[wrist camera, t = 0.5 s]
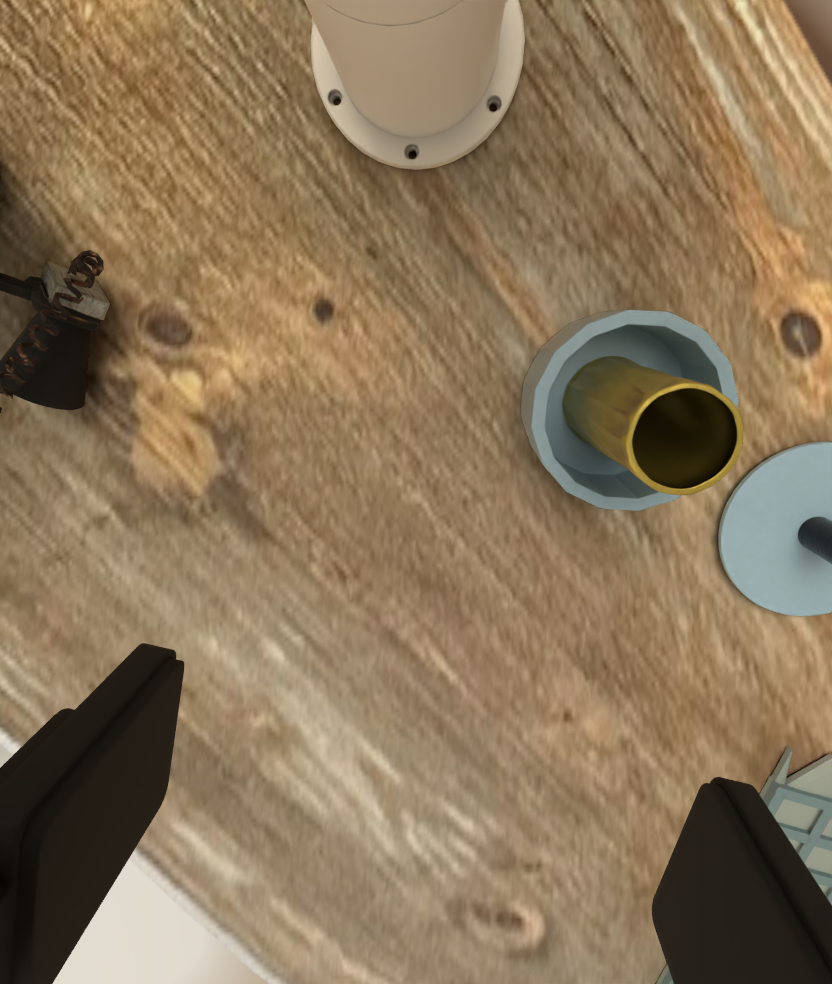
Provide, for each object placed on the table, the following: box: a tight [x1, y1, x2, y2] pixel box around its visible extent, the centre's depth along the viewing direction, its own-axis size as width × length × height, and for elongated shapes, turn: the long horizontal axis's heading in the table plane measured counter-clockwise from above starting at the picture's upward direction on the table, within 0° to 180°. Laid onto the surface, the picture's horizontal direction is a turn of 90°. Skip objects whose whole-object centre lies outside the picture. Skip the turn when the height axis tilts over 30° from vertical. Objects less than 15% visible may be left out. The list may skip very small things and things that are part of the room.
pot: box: [521, 310, 739, 511], centre depth 39 cm, size 12×12×6 cm
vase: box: [563, 356, 743, 495], centre depth 35 cm, size 6×6×14 cm
